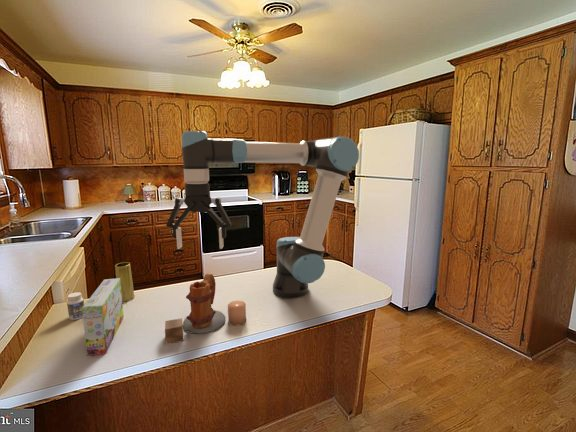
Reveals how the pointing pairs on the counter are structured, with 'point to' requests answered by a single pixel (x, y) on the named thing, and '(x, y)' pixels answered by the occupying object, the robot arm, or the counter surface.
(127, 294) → the vase
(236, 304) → the peach rounded cylinder
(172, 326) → the walnut block
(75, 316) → the pill bottle
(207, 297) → the mug
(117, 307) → the snack box
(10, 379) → the counter surface
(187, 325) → the gray ellipsoid
